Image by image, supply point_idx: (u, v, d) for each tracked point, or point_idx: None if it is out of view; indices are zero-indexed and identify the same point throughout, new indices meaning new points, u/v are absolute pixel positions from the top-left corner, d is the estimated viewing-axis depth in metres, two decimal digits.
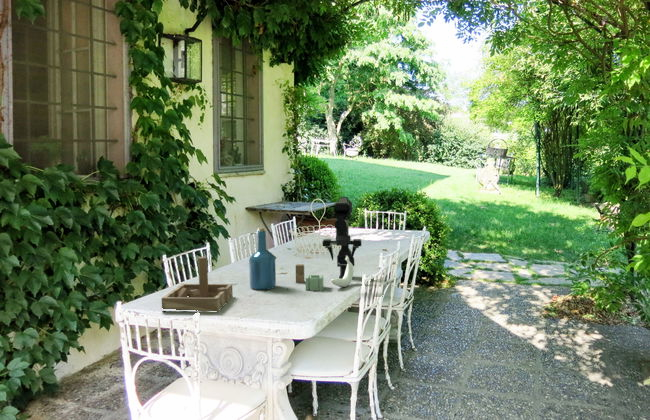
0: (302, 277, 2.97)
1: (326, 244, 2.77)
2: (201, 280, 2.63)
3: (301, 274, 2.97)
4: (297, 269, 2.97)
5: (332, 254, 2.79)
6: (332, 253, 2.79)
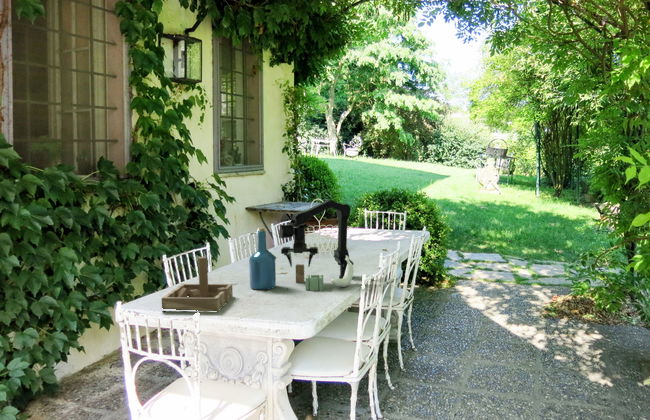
0: (302, 277, 2.97)
1: (284, 252, 2.96)
2: (201, 280, 2.63)
3: (301, 274, 2.97)
4: (297, 269, 2.97)
5: (290, 261, 2.98)
6: (290, 260, 2.98)
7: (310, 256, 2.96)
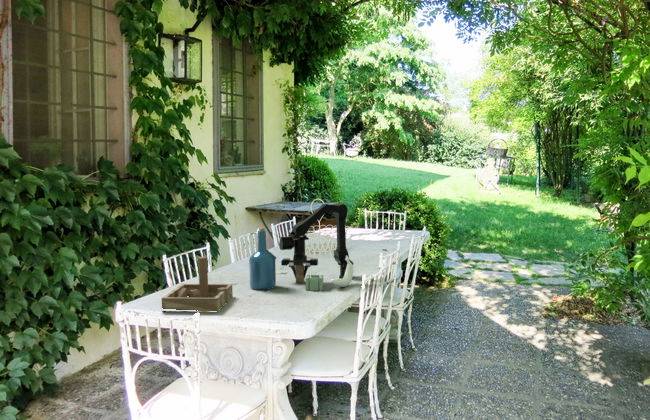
0: (302, 277, 2.97)
1: (284, 263, 2.96)
2: (201, 280, 2.63)
3: (301, 274, 2.97)
4: (297, 269, 2.97)
5: (295, 273, 2.98)
6: (295, 272, 2.98)
7: (305, 268, 2.97)
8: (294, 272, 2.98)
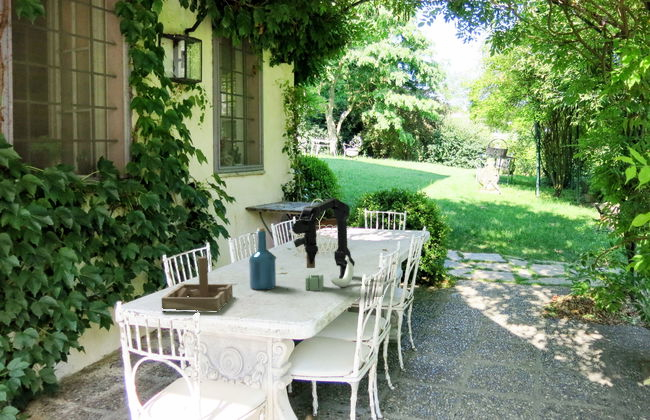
0: None
1: None
2: (201, 280, 2.63)
3: (306, 258, 2.85)
4: None
5: None
6: None
7: None
8: None
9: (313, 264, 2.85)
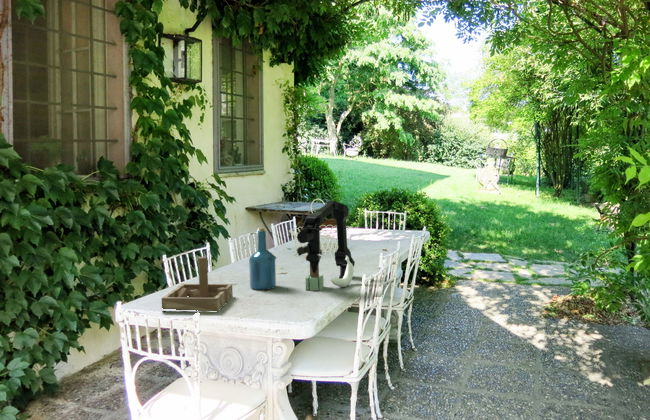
0: (310, 270, 2.83)
1: None
2: (201, 280, 2.63)
3: (310, 267, 2.83)
4: None
5: None
6: None
7: None
8: None
9: (316, 273, 2.82)
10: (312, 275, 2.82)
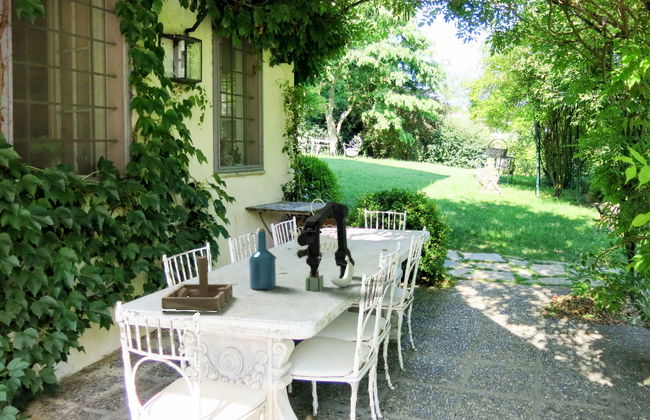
0: None
1: None
2: (201, 280, 2.63)
3: None
4: None
5: None
6: None
7: None
8: None
9: None
10: None
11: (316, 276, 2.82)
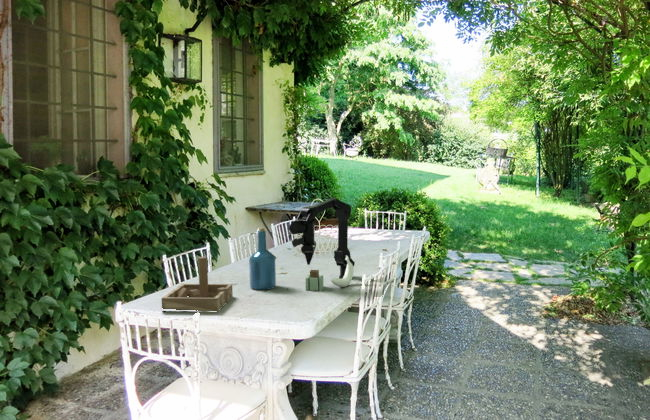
0: None
1: None
2: (201, 280, 2.63)
3: None
4: None
5: None
6: None
7: None
8: None
9: None
10: None
11: (316, 276, 2.82)
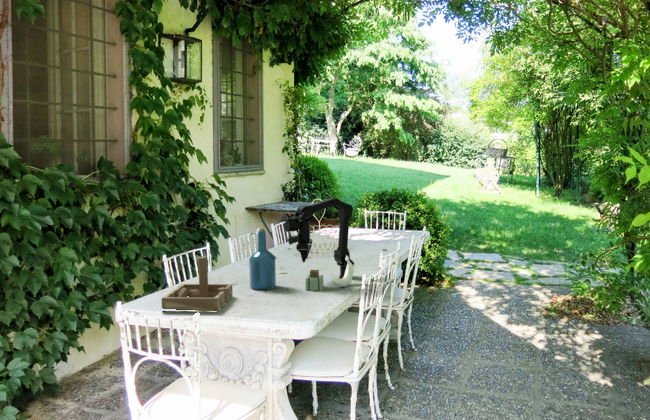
0: None
1: None
2: (201, 280, 2.63)
3: None
4: None
5: None
6: None
7: None
8: None
9: None
10: None
11: (316, 276, 2.82)
